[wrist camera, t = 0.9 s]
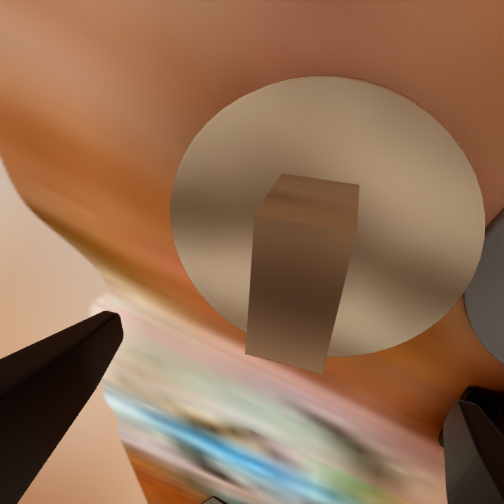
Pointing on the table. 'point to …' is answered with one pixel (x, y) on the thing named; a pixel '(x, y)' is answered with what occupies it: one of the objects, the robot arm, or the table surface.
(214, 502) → the skincare box
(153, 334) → the table surface
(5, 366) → the robot arm
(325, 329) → the lid
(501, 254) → the mat
